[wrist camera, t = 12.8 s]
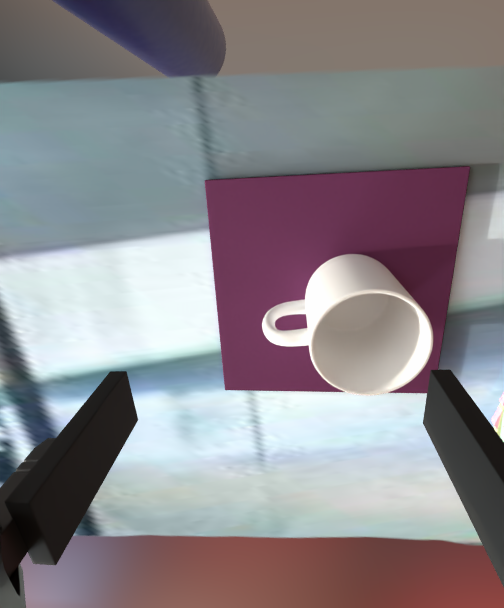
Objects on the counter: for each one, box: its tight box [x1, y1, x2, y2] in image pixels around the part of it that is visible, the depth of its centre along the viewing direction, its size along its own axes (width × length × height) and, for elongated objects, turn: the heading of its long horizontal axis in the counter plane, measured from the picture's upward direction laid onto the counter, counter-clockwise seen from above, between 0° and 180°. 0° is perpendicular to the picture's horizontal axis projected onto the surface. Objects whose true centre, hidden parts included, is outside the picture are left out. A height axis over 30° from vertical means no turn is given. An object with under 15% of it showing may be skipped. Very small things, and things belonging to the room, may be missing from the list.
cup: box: [262, 254, 433, 395], centre depth 30 cm, size 8×12×10 cm
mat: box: [205, 166, 470, 393], centre depth 35 cm, size 22×22×1 cm
